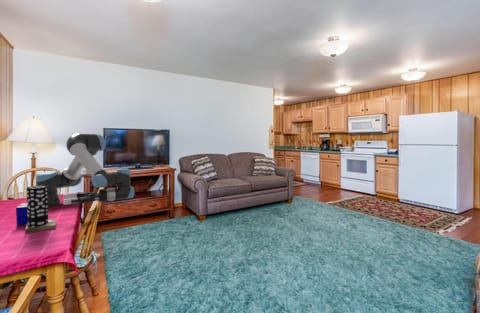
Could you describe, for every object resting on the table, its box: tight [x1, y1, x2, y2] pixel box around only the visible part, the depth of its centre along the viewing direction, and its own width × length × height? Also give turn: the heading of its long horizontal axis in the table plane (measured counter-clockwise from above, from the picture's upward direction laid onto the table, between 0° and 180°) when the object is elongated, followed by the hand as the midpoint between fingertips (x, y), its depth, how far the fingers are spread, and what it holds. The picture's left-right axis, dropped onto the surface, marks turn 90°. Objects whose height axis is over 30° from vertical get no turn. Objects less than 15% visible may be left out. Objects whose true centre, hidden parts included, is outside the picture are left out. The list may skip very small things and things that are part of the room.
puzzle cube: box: [15, 202, 28, 226], centre depth 134 cm, size 10×10×10 cm
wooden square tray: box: [24, 218, 57, 234], centre depth 127 cm, size 12×12×2 cm
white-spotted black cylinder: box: [26, 185, 49, 227], centre depth 124 cm, size 8×8×20 cm
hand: (63, 199), depth 132 cm, fingers open, 13 cm apart
